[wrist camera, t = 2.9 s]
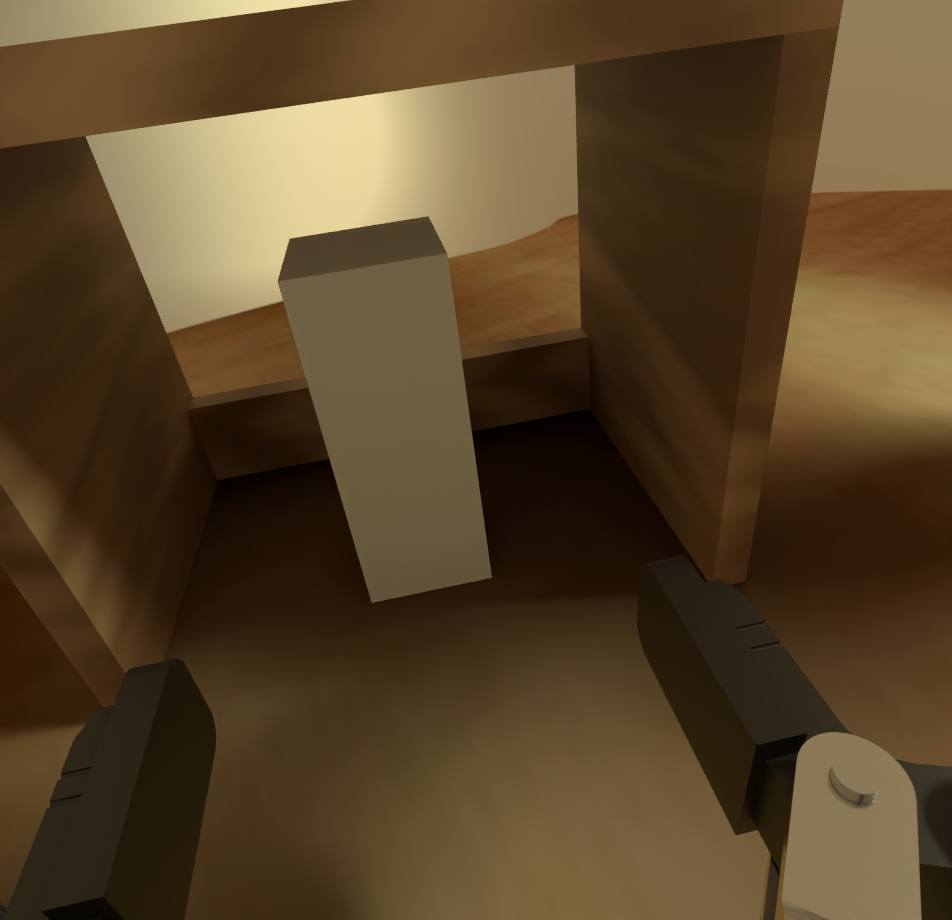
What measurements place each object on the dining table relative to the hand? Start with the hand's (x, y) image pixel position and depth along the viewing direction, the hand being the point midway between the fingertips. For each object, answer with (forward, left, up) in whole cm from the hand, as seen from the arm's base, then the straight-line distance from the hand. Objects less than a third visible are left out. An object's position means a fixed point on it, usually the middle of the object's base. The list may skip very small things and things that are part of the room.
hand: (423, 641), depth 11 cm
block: (0, -12, -8) cm, 14 cm away
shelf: (0, -14, -8) cm, 16 cm away
